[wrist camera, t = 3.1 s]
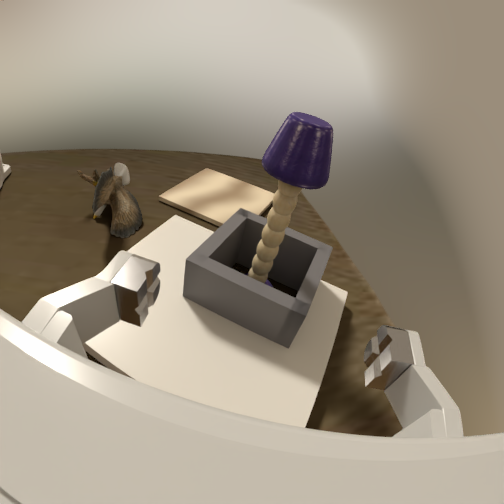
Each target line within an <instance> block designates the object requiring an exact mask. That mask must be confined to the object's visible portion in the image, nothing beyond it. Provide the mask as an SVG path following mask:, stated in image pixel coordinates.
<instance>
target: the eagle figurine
mask: <svg viewBox="0 0 504 504" xmlns="http://www.w3.org/2000/svg"><path fill="white" fill-rule="evenodd" d="M77 172H78V174H79V175H80V177H81V178H82V179H84V180H85V181H88V182H90V183H91V184H93V185H94V186H95V187H96V188H95V193H94V202H93V206H92V208H93V212H94V217H93V219H95V218H96V217H97V216H99V215H101V213H102V212H103V210H104V208H105V207H106V206H107V205H108V204H109V205H110V206H111V207H112V216H113V218H112V223H111V234H112V235H113V234H114V235H115V236H116V237H119V236H120V237H121V238H125V237H126V238H128V237H130V235H131V234H132V235H133V234H134V233H135V229H136V230H138V229H139V227H140V226H141V223H142V214H141V211H140V208H139V205H138V202H137V200H136V199H135V197H134V196H133V195H132V194H131V193H130V192H128V190H126V189H125V188H124V187H123V186H124V185H127V184H129V182H130V177H129V171H128V168H127V166H125V165H124V164H122V163H116V164H115V166H114V175H113V174H112V168H111V167H110V169H108V170H107V171H106V172H102V173H101V176H100V177H99V175H98V172H97V170H96V169H95V170H94V172H93V178H91V177H89V176H87V175H85V174H83V172H81V171H79V170H78V171H77Z"/></svg>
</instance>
